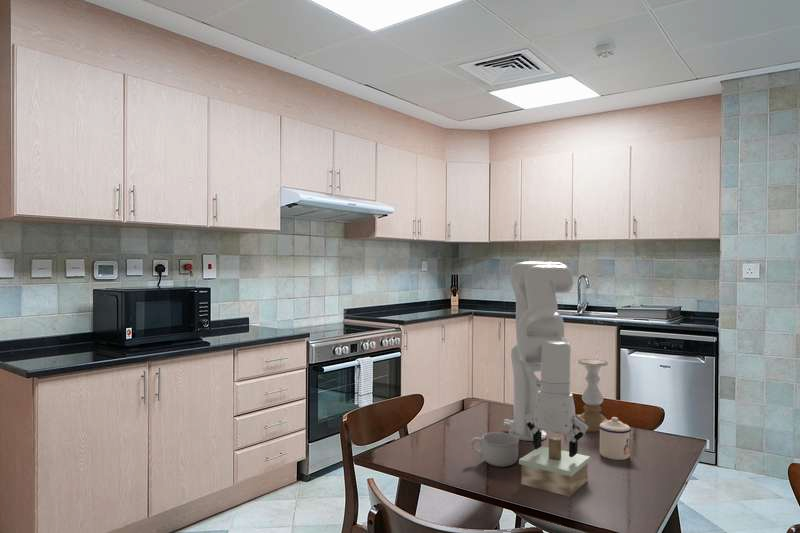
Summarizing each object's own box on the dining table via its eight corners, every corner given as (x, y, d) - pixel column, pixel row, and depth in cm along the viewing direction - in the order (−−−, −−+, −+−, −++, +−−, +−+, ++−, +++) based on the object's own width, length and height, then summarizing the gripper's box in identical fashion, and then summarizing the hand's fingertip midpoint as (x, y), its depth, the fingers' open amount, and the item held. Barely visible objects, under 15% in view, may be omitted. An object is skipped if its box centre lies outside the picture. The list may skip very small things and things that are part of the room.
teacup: (520, 460, 167) (521, 434, 167) (516, 473, 157) (516, 445, 157) (474, 455, 172) (475, 429, 172) (467, 467, 161) (467, 439, 161)
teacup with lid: (631, 462, 166) (631, 423, 166) (598, 458, 169) (598, 419, 169) (629, 449, 177) (629, 413, 177) (599, 446, 181) (599, 410, 181)
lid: (518, 463, 148) (519, 440, 147) (540, 450, 159) (540, 428, 159) (570, 476, 139) (570, 451, 139) (590, 460, 150) (590, 437, 150)
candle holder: (601, 422, 207) (602, 358, 207) (613, 431, 196) (614, 363, 196) (572, 422, 207) (572, 358, 207) (582, 431, 196) (583, 363, 196)
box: (521, 486, 148) (521, 463, 148) (541, 472, 158) (541, 450, 158) (569, 499, 140) (569, 475, 140) (587, 483, 150) (587, 461, 150)
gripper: (519, 385, 151) (518, 448, 151) (582, 395, 140) (582, 463, 140) (530, 381, 157) (530, 441, 157) (592, 389, 146) (592, 455, 146)
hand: (554, 451), depth 149 cm, fingers open, 9 cm apart
